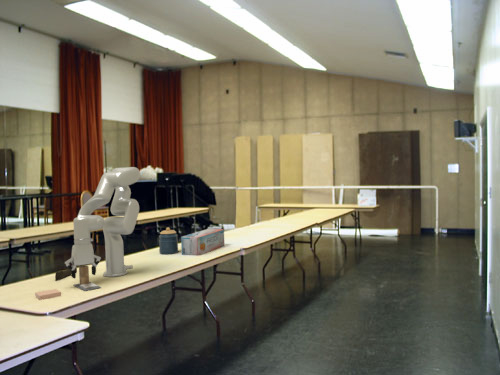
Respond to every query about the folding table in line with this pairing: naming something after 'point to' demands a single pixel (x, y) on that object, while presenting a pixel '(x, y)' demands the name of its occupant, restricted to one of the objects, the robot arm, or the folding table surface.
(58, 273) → the dark brown bar
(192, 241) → the soda box
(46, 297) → the tile
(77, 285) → the mat
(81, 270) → the block on white plate
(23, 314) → the folding table surface
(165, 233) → the canister
